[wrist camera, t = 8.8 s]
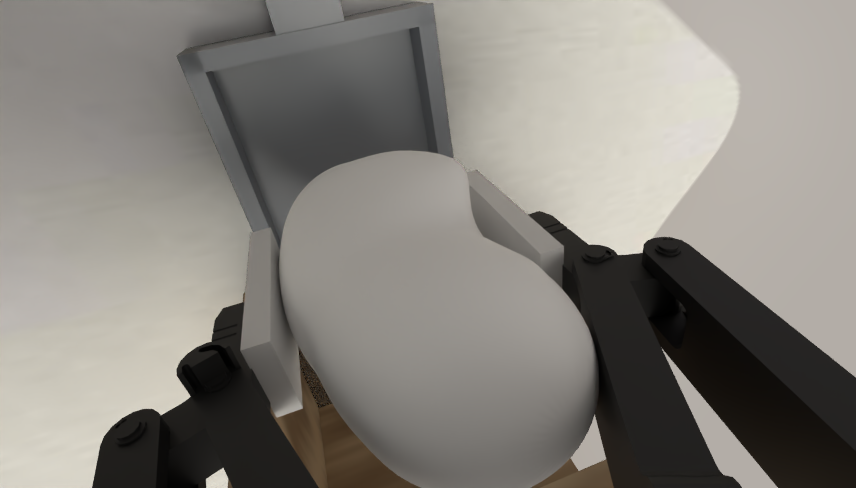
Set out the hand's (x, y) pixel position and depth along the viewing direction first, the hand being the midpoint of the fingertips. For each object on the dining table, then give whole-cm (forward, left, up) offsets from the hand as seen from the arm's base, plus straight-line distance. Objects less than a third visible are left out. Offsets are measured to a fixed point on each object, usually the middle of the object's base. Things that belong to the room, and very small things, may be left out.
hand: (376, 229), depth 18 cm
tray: (-3, 0, -8) cm, 9 cm away
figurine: (0, 0, -1) cm, 1 cm away
